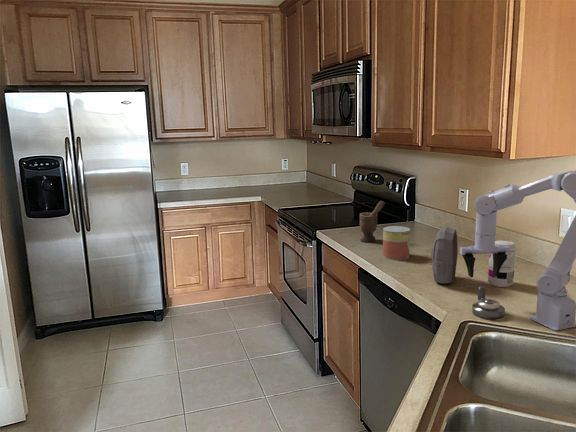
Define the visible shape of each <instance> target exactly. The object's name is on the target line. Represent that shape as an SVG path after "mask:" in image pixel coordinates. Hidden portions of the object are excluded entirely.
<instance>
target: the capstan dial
mask: <svg viewBox="0 0 576 432" xmlns="http://www.w3.org/2000/svg"><path fill="white" fill-rule="evenodd" d="M486 296H487V287H486V286H485V285H479V286H478V289H477V302H478V307H480V308H481V309H485V310H498V309H499V308H500V305H501V303H500V302H499V301H497V300H495V299H491V298H487V297H486Z"/></svg>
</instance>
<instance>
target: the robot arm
mask: <svg viewBox="0 0 576 432" xmlns="http://www.w3.org/2000/svg"><path fill="white" fill-rule="evenodd" d="M549 190H554V191H558V192H561V191H564V192H565V194H567V195H568V196H569V197H570V198H572V200H573V201H574V203H575V204H576V169H575V170H568V171H563V172H558V173H555V174H552V175H549V176H545V177H543V178H542V179H541V178H540V179H538V180H535V181H533V182H530V183H528V184H525V185H523V186H518V185H517V184H510V183H508V184H505V185H504V186H503V188H500V189H497V190H489V191H488V193H486V194H484V195H483V194H482V195H480V196H477V198H475V200H474V201H473V209H474V210H475V212H476V215H475V233H474V245H469V246H461V247H459V254H460V255H462V258H463V260H464V262H465V265H466V269H467V275H468V276H469V278H474V272H475V269H474V267H475V262H476V257H475V256H474V255H482V254H483V255H485V254H486V255H487V254H488V255H489V253H492V254H493V275H494V276H496V277H498V274H499V271H500V269H501V266H502V265H503V263H504V261H505V260H506V259H507V255H506V254H509V249H510V248H509V247H508V246H495V240H496V232H497V231H496V229H497V212H498V210H499V211H501V210H504V209H508V208H510V207H513V206H516V205H519V204H522V202H523V201H524V199H525V198H527V197H528V196H532V195H535V194H538V193H542V192H545V191H549ZM505 253H506V254H505ZM575 261H576V214H575V216H574V218H573V219H572V221H571V223H570V226H569V228H568V229H567V231H566V233H565V235H564V237H563V239H562V240H561V243H560V245H559V246H558V249H557V250H556V253H555V255H554V256H553V258H552V259H551V261H550V263H549V264H548V266H547V267H546V269H545V271H544V272H542V273H541V274H539V275H538V277H536V288H537V299H536V309H535V314H534V315H529V316H528V317H527V318H528V319H530V320H532V321H534V322H536V323H538V324H540V325H542V326H545V327H547V328H548V329H550V330H553V331H561V330H565V329H570V328H575V327H576V301H575V300H574V299H572V298H571V297H570V296H569V295H568V291H567V290H568V289H567V288H566V286H567V285H568V284H569V283H570V280H571V271H572V269H573V264H574V262H575Z"/></svg>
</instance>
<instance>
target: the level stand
mask: <svg viewBox="0 0 576 432" xmlns="http://www.w3.org/2000/svg"><path fill="white" fill-rule="evenodd" d="M471 313H472V315H474V316H475V317H477V318H479V319H483V320H490V321H496V320H497V321H498V320H502V319H504V318H505V315H506V308H505V307H504V306H503V305H501V304H500V308H499V309H498V310H485V309H481V308H480V307H478V301H477V302H474V303H473V304H472V309H471Z"/></svg>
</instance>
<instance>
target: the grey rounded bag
mask: <svg viewBox="0 0 576 432" xmlns="http://www.w3.org/2000/svg"><path fill="white" fill-rule="evenodd" d="M458 244H459V243H458V234H457V229H454V228H451V227H449V226H446V227H442V228H440V230H439V231H437V233H436V235H435V238H434V241H433V245H432V248H431V257H430V261H431V263H430V265H431V269H432V273H433V274H432V275H433V279H434V280H433V281H435V282H436V283H438V284H439V283H440V284H450V283H453V282H454V281H455V279H456V271H457V262H458V252H459V251H458Z"/></svg>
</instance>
